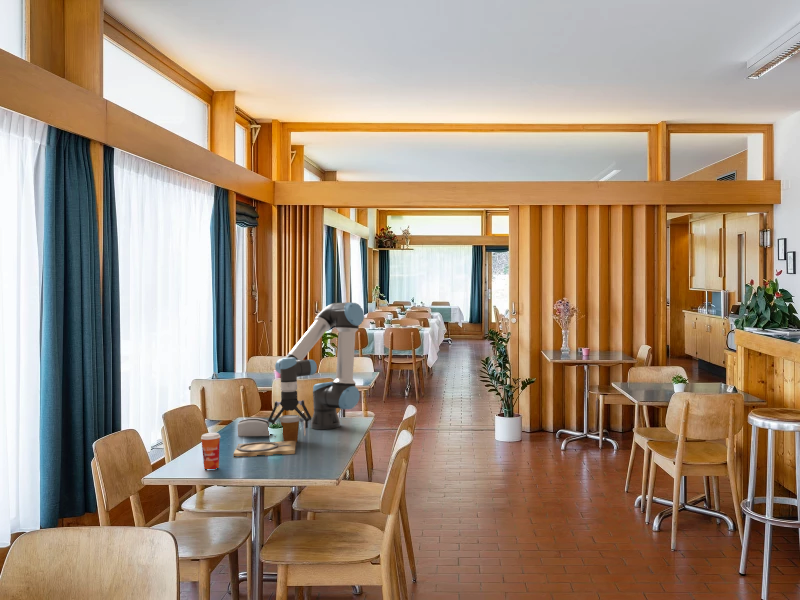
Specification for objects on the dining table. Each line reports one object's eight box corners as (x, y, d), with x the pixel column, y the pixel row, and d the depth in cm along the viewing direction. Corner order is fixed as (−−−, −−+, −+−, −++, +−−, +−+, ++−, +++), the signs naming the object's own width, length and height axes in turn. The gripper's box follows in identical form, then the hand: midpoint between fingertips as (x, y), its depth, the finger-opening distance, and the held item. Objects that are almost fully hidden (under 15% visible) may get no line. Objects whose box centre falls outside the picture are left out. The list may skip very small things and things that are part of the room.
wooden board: (295, 444, 322) (295, 439, 322) (294, 453, 302) (294, 448, 302) (238, 447, 318) (238, 442, 318) (233, 457, 298) (233, 452, 298)
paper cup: (198, 471, 275) (197, 436, 275) (205, 466, 283) (204, 432, 283) (218, 471, 275) (217, 436, 275) (224, 466, 282) (223, 432, 282)
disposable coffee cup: (278, 441, 330) (277, 415, 329) (298, 439, 333) (297, 414, 333) (282, 444, 321) (281, 419, 320) (302, 442, 324) (302, 417, 324)
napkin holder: (273, 433, 348) (270, 416, 344) (270, 438, 343) (268, 421, 340) (240, 434, 350) (237, 416, 346) (237, 439, 345) (234, 421, 342)
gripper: (261, 392, 321) (262, 438, 321) (315, 390, 324) (316, 436, 324) (262, 390, 329) (264, 435, 329) (315, 388, 332) (316, 433, 332)
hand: (290, 436), depth 327 cm, fingers open, 13 cm apart
